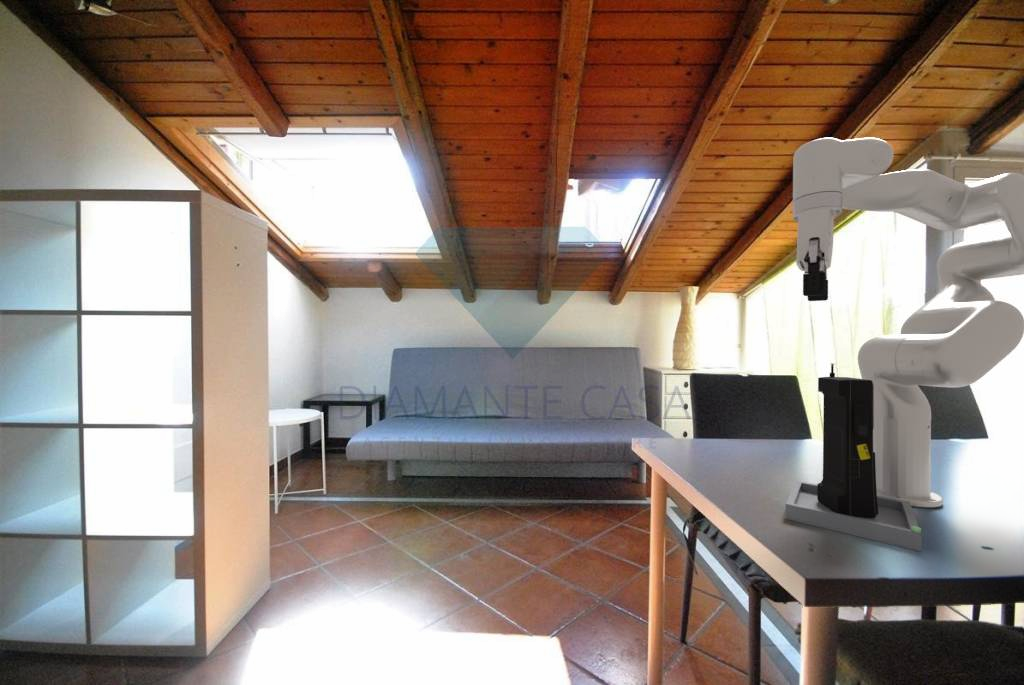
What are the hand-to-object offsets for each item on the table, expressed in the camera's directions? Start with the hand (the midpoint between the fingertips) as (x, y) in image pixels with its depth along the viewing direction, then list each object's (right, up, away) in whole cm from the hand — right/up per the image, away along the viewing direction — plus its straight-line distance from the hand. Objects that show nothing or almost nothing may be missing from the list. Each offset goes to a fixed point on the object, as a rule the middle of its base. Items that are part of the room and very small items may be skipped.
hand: (815, 298), depth 76 cm
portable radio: (0, -37, -8) cm, 38 cm away
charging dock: (-1, -38, -8) cm, 39 cm away
